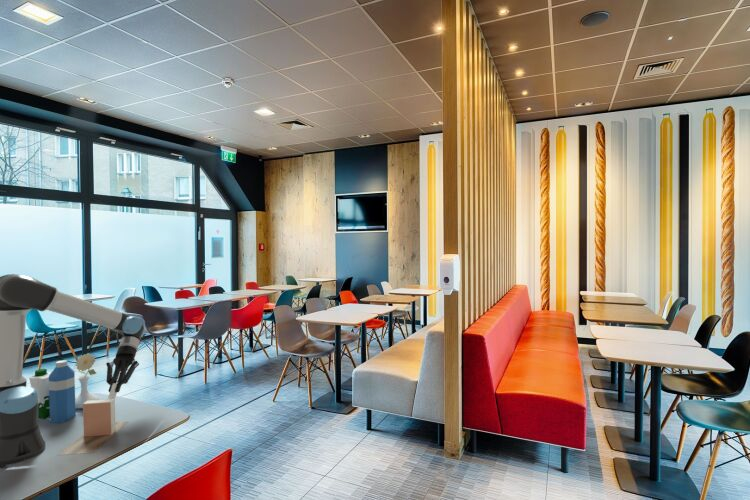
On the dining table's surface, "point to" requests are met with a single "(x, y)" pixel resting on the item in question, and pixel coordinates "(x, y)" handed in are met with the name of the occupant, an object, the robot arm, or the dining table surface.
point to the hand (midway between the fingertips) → (111, 399)
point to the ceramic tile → (99, 417)
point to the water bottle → (62, 393)
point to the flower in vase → (85, 380)
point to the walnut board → (90, 442)
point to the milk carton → (42, 391)
